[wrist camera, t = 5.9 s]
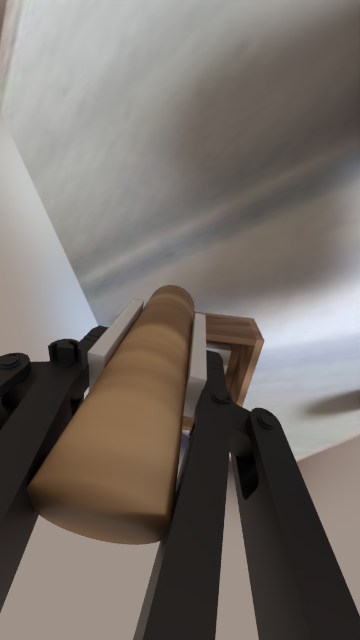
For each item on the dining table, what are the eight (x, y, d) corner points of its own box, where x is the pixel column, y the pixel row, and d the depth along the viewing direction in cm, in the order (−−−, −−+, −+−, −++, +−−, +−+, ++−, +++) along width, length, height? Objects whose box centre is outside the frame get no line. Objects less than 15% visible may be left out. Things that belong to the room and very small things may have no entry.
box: (158, 307, 33) (148, 326, 27) (253, 318, 32) (264, 340, 26) (155, 397, 43) (148, 424, 38) (227, 407, 43) (231, 437, 37)
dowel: (153, 280, 17) (10, 461, 4) (199, 291, 17) (187, 501, 4) (147, 320, 19) (37, 525, 6) (188, 330, 19) (159, 553, 6)
